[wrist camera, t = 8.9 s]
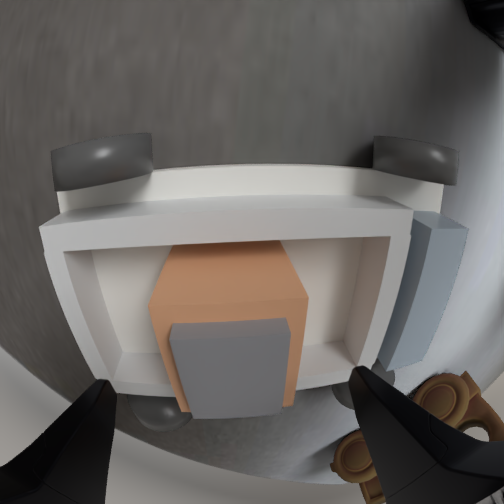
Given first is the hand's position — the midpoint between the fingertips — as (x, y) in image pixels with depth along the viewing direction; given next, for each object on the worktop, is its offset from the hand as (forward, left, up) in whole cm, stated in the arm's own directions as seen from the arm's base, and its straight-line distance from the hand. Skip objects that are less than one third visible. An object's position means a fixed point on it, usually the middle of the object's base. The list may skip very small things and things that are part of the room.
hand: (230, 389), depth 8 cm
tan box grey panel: (0, 0, -6) cm, 6 cm away
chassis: (-2, 0, -7) cm, 7 cm away
